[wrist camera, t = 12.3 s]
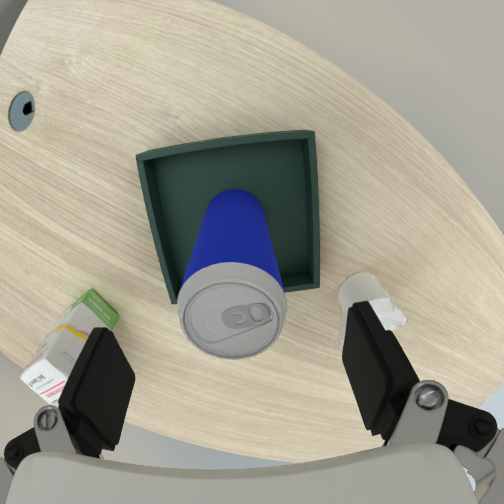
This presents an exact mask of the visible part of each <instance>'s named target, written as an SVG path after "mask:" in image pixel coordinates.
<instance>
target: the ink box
mask: <svg viewBox="0 0 504 504" xmlns="http://www.w3.org/2000/svg"><path fill="white" fill-rule="evenodd" d="M118 317H119V315H118V314H117V313H116V312H115V311H113V310H112V309H111V308H110V307H109V306H108V305H107V304H106V303H105V302H104V301H103V300H102V299H101V298H100V297H99V296H98V295H97V294H96V293H95V292H94V291H93V289H90V290H89V291H88V292H87V293H85V294H84V295H83V296H82V297H81V298H80V299H79V300H77V301H76V302H75V303H74V304H73V305H72V306H71V307H69V308H68V309H67V310H66V311H65V312H64V313H63V314H62V315H61V316H60V317H59V319H58V320H57V322H56V323H55V324H54V326H53V327H52V329H51V330H50V332H49V333H48V334H47V336H46V337H45V339H44V340H43V342H42V344H41V345H40V347H39V348H38V350H37V351H36V353H35V354H34V356H33V357H32V359H31V360H30V362H29V364H28V365H27V367H26V368H25V370H24V371H23V373H22V374H21V376H20V379H21V380H22V381H23V382H25V383H26V384H27V385H28V386H29V387H30V388H31V389H32V390H33V391H35V392H36V393H37V394H38V395H39V396H41V397H42V398H43V399H44V400H45V401H47V402H48V403H49V404H51V405H53V406H56V407H57V408H58V406H59V404H58V400H59V397H60V395H61V393H62V391H63V388H64V386H65V384H66V382H67V380H68V377H69V375H70V373H71V371H72V369H73V367H74V365H75V363H76V361H77V359H78V357H79V355H80V353H81V351H82V349H83V347H84V345H85V343H86V341H87V339H88V337H89V335H90V333H91V331H92V329H93V328H95V327H107V328H108V329H109V330H110V331H112V329H113V327H114V325H115V323H116V321H117V319H118Z"/></svg>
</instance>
